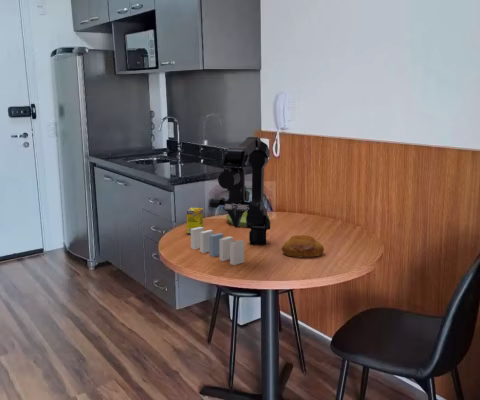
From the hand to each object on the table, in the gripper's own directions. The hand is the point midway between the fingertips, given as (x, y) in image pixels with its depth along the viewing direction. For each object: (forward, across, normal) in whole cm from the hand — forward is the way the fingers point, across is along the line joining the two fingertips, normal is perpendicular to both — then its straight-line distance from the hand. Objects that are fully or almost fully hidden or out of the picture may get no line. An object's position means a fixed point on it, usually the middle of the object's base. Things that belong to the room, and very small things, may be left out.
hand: (236, 227), depth 172 cm
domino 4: (+13, +5, -4) cm, 15 cm away
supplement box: (+13, +30, -31) cm, 45 cm away
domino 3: (+13, +10, -7) cm, 18 cm away
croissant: (+14, -20, -20) cm, 31 cm away
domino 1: (+13, +21, -13) cm, 28 cm away
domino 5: (+13, 0, -1) cm, 13 cm away
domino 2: (+13, +16, -10) cm, 23 cm away
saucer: (+13, +14, -56) cm, 59 cm away
